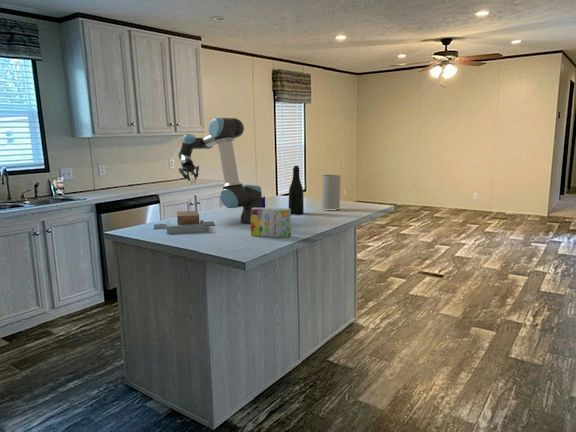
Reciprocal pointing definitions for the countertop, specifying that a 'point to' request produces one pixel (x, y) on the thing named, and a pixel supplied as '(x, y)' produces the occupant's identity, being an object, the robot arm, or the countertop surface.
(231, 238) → the countertop surface
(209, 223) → the mats
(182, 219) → the walnut block
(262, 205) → the puzzle cube
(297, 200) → the beer bottle
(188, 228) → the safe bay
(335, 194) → the cylinder vase
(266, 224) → the snack box
